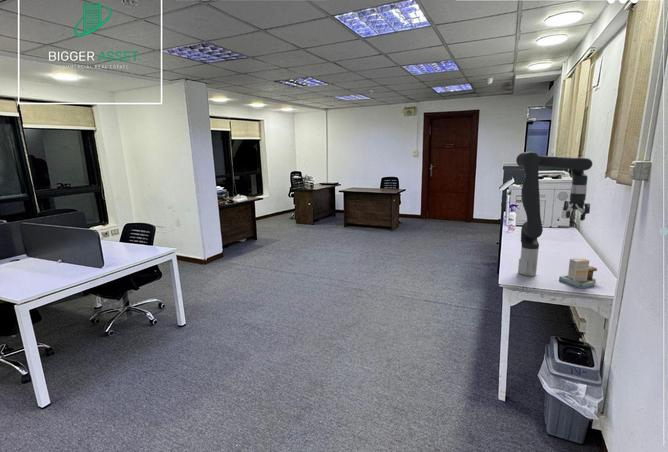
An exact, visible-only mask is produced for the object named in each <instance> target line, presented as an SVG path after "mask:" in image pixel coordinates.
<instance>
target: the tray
mask: <svg viewBox="0 0 668 452" xmlns="http://www.w3.org/2000/svg"><path fill="white" fill-rule="evenodd" d="M558 281H559V282H562V283H565V284H567V285H569V286H573V287H575V288H578V289H581V290H583V289H588V288H592V287H595V284H596V281H595V282H594V281H591V282H576V281H573V280H570V279H568V274H565V275H561V276H559V279H558Z"/></svg>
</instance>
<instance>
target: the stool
mask: <svg viewBox="0 0 668 452" xmlns="http://www.w3.org/2000/svg"><path fill="white" fill-rule="evenodd" d="M597 271H598V268H597V267H595V266H591V265H589V268H588V276H587V282H591V281H594V282H595V283H596V281H597V280H596V279H595V278H594V277H593V276H594V272H597Z"/></svg>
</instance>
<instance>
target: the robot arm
mask: <svg viewBox="0 0 668 452" xmlns="http://www.w3.org/2000/svg"><path fill="white" fill-rule="evenodd" d="M515 159H516V160H515V162H516V164H517V166H519V167H520V168H524V181H523V184H522V186H521V192H520V193H521V202H522V207H523V209H524V211H525V212H524V213H525V215H526V222H523V224H522V226H521V229H520V244H521V248H520V258H518V267H517V274H520V275H523V276H524V277H535V276H537V269H538V261H539V260H538V258H539V248H540V243H539V240H538V238H539V237H541V235H542V234H543V231H544V230H543V223H542V218H541V198H540V197H541V196H540V181H539V173H540V172H539V170H540V168H541V167H543V168H550V169H551V168H552V169H561V170H562V169H563V170H571V175H572V179H571V180H572V181H571V187H570V192H569V193H570V194H569V200H564V202H563V209H562V210H563V211H565V218H566V219H570V218H571V213H572V210H577V211H579V213H580V218H579V220H580V221H581V222H582V221H584V220H586V215H587V214H590V209H591V204H590V203H585V201H586V198H587V197H586V196H587V187H588V186H587V185H588V184H587V183H588V176H587V174H585V171H587V170H590V169H591V168H592V167H593V161H592V160H591V159H590V158H587V157H570V156H559V155H554V156H553V155H538V153H536V152H535V151H523V152H521V153H519V154H518V155H517V157H516V158H515Z"/></svg>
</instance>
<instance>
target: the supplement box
mask: <svg viewBox="0 0 668 452" xmlns="http://www.w3.org/2000/svg"><path fill="white" fill-rule="evenodd" d="M589 266H590V259H587V258H584V257H579V258H570V259H569V263H568V273H567V275H568V279H570V280H573V281H576V282H587V276H588V268H589Z"/></svg>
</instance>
